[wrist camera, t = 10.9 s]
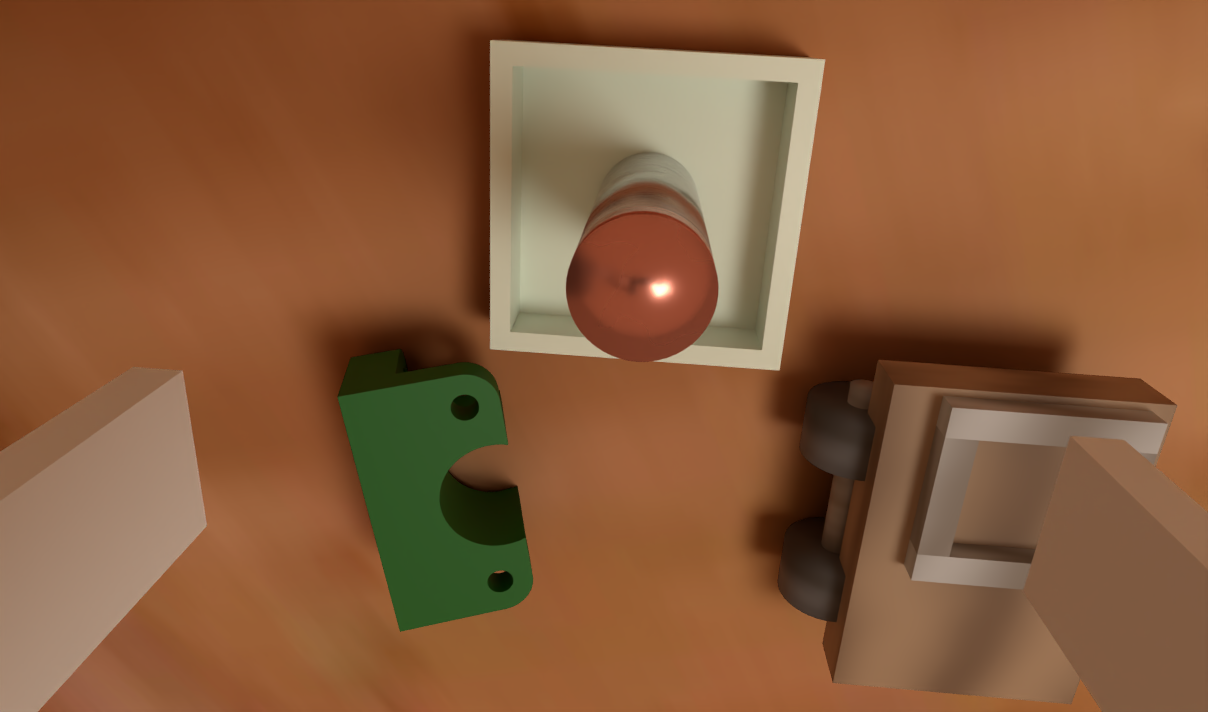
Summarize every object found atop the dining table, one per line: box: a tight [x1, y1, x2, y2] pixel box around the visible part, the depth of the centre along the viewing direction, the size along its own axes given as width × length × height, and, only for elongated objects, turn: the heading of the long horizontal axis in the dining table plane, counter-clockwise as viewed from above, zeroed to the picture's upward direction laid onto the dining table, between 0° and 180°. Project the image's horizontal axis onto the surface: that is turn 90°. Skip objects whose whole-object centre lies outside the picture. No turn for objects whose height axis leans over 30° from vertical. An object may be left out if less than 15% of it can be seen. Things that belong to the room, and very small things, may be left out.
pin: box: [566, 152, 719, 362], centre depth 27 cm, size 4×4×12 cm
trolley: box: [778, 360, 1177, 704], centre depth 34 cm, size 13×14×6 cm
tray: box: [490, 40, 825, 370], centre depth 31 cm, size 12×12×3 cm
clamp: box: [338, 349, 533, 632], centre depth 35 cm, size 12×6×9 cm, turn 1°
